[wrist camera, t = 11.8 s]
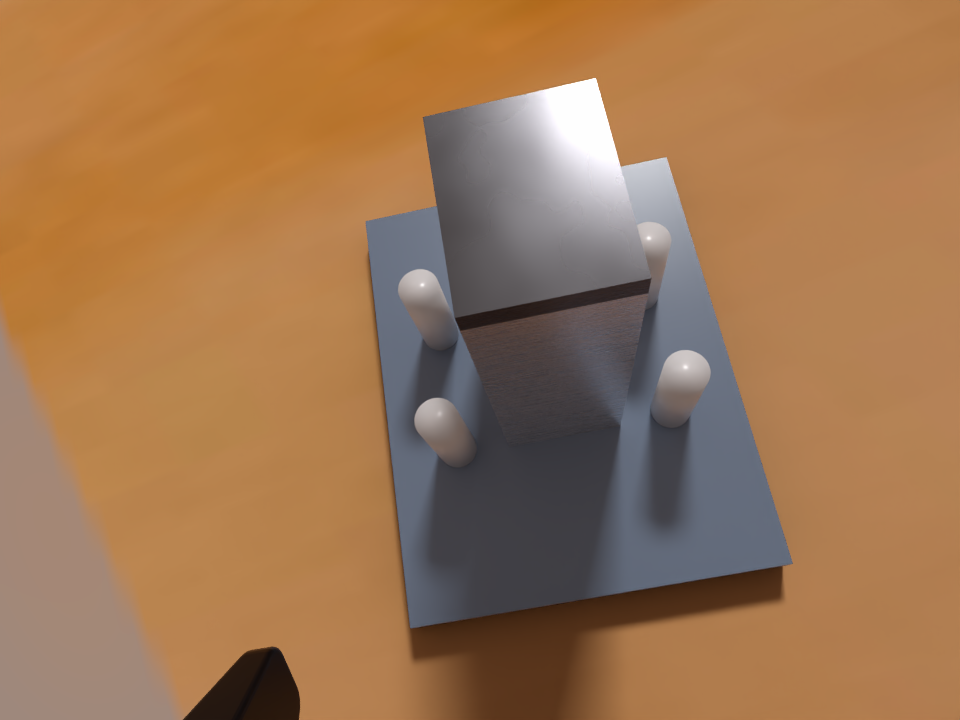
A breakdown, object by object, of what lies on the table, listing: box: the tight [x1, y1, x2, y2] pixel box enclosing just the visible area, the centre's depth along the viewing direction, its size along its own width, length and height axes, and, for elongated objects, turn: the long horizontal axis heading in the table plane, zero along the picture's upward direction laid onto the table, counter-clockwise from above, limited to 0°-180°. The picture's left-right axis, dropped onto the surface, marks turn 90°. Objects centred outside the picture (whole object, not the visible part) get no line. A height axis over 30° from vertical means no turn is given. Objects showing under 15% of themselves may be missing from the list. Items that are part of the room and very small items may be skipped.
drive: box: [423, 78, 652, 447], centre depth 17 cm, size 4×4×10 cm
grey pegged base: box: [366, 157, 793, 628], centre depth 21 cm, size 14×11×4 cm
